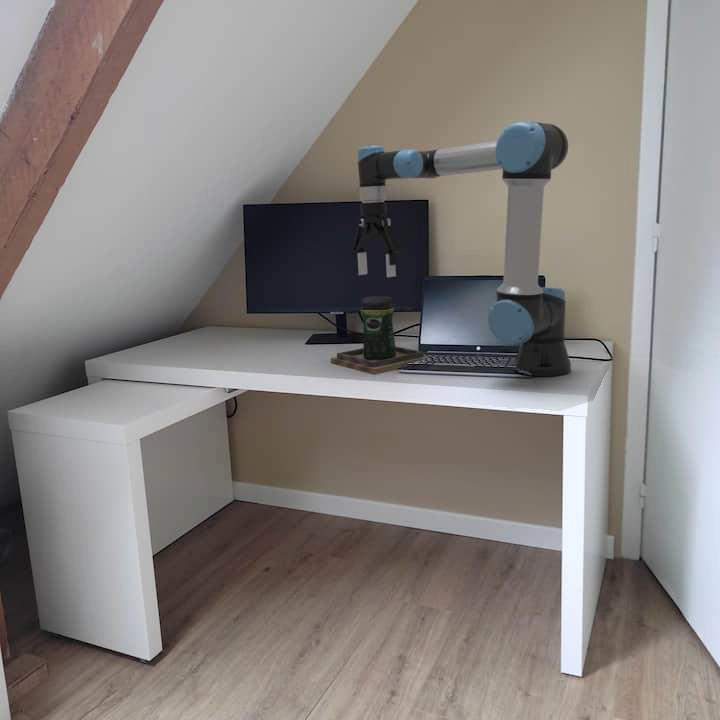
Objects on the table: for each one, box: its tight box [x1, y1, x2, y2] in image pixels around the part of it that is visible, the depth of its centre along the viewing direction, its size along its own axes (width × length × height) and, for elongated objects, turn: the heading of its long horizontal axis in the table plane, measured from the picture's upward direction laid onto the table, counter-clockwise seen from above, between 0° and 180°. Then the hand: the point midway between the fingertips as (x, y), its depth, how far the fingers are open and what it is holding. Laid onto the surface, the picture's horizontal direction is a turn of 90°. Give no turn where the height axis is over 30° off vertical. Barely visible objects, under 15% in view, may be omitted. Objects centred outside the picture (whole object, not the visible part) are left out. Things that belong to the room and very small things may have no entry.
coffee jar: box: [360, 295, 396, 360], centre depth 219 cm, size 10×8×19 cm
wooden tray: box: [330, 345, 431, 375], centre depth 221 cm, size 22×21×3 cm
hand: (376, 275), depth 215 cm, fingers open, 13 cm apart
